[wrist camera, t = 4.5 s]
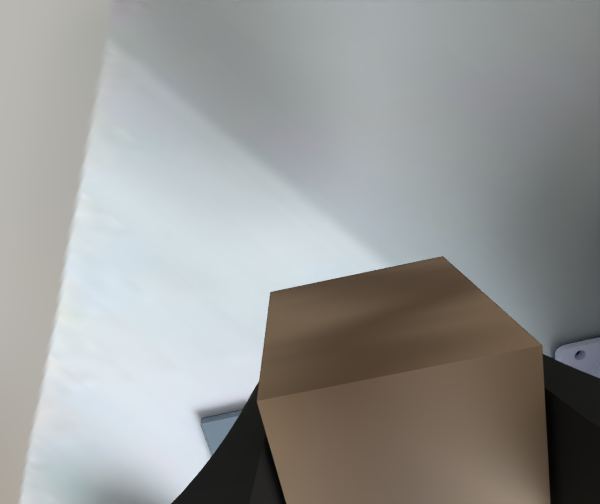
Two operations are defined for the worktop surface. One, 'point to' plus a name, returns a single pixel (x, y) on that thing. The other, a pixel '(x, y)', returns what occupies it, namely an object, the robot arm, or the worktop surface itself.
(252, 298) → the worktop surface
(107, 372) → the worktop surface
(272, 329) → the walnut block
